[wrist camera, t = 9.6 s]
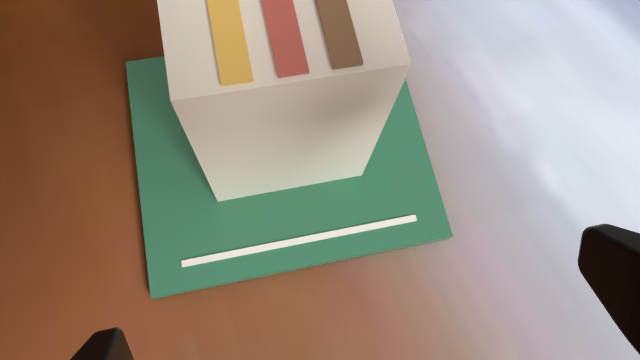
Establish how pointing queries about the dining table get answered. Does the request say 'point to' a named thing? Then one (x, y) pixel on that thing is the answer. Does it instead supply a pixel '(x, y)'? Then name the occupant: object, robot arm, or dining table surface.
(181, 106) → the plug block
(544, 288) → the dining table surface
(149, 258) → the header board
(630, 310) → the robot arm
